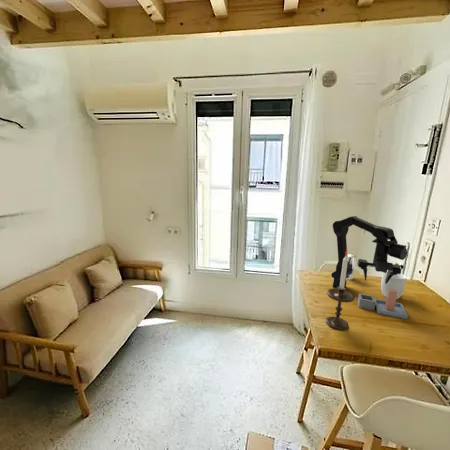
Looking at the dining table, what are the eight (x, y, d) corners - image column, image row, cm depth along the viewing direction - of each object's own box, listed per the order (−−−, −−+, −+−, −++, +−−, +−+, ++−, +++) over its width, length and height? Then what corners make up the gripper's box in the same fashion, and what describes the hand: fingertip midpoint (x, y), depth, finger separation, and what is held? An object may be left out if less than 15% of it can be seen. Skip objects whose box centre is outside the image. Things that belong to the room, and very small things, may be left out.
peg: (386, 310, 129) (389, 291, 127) (385, 307, 132) (388, 288, 130) (393, 311, 128) (397, 292, 126) (392, 308, 131) (395, 289, 129)
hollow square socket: (358, 308, 132) (360, 299, 131) (357, 302, 138) (358, 293, 137) (373, 311, 130) (375, 301, 129) (371, 304, 136) (373, 296, 135)
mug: (386, 289, 155) (389, 268, 153) (407, 296, 147) (412, 274, 144) (375, 295, 146) (379, 273, 143) (398, 304, 138) (402, 280, 135)
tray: (377, 314, 127) (378, 309, 126) (373, 303, 138) (374, 298, 137) (406, 320, 123) (407, 315, 122) (400, 308, 134) (401, 303, 133)
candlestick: (344, 334, 110) (356, 254, 103) (319, 323, 117) (328, 248, 110) (353, 324, 118) (365, 249, 111) (329, 314, 125) (338, 243, 118)
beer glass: (354, 280, 166) (358, 257, 163) (343, 279, 167) (346, 256, 164) (352, 276, 172) (355, 254, 169) (340, 275, 174) (343, 253, 171)
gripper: (362, 254, 128) (356, 284, 131) (407, 261, 121) (400, 292, 125) (359, 248, 138) (354, 275, 141) (401, 254, 131) (395, 283, 135)
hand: (375, 281), depth 135 cm, fingers open, 9 cm apart
